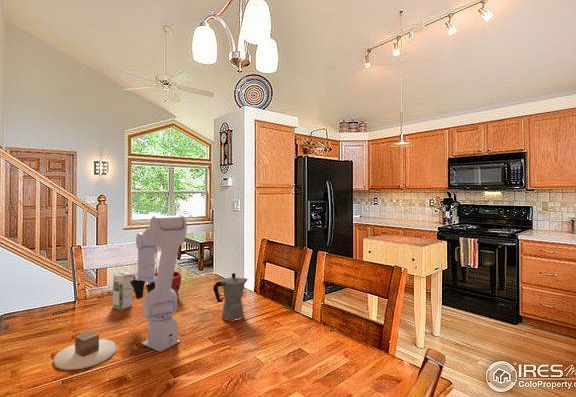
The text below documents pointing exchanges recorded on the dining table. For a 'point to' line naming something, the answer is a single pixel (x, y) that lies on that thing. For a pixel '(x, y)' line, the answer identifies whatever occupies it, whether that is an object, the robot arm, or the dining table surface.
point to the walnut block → (86, 343)
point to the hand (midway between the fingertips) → (145, 300)
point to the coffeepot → (231, 297)
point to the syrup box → (122, 290)
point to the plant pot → (175, 281)
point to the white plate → (74, 361)
